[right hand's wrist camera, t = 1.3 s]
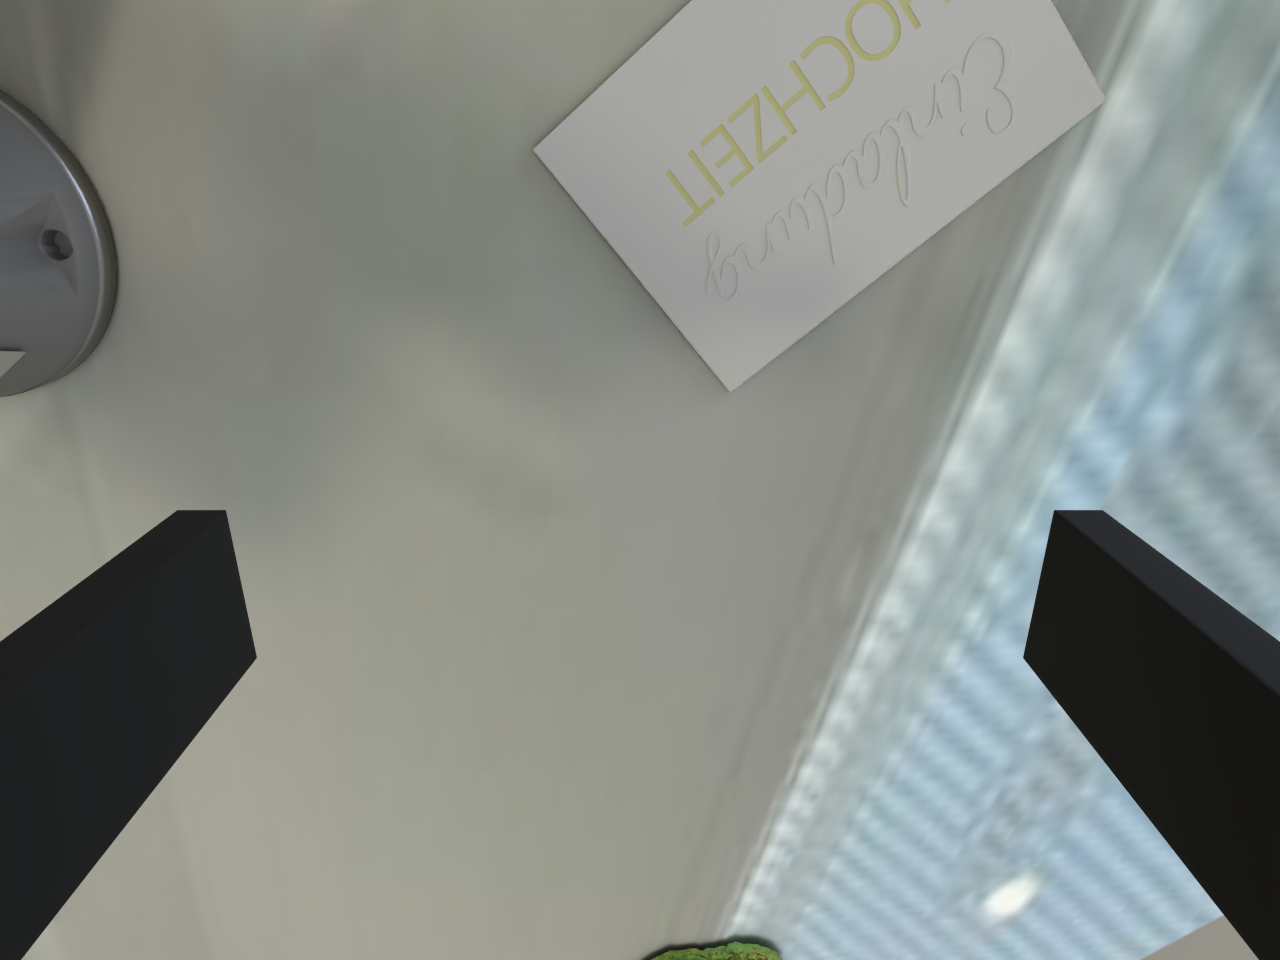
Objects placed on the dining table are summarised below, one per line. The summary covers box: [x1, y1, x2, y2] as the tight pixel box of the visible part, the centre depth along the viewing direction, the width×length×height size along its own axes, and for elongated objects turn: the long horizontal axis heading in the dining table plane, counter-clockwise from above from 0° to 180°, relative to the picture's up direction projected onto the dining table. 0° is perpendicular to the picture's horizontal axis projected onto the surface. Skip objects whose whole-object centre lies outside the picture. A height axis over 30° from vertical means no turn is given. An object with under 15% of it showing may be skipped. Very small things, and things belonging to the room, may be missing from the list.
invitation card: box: [533, 0, 1107, 393], centre depth 36 cm, size 21×1×15 cm
